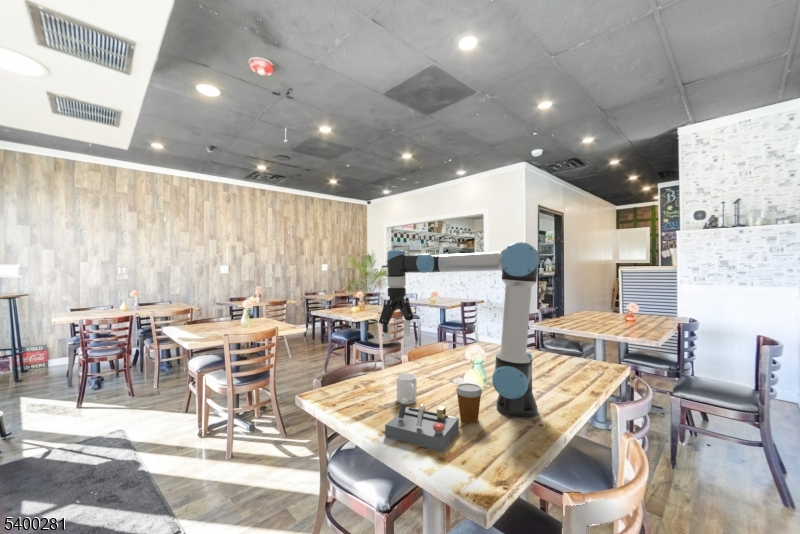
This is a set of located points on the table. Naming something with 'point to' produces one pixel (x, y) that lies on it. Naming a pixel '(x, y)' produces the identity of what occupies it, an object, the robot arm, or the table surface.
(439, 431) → the red button
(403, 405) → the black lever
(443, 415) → the brass slider
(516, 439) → the table surface
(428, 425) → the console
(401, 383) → the mug
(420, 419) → the steel lever
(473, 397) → the disposable coffee cup
